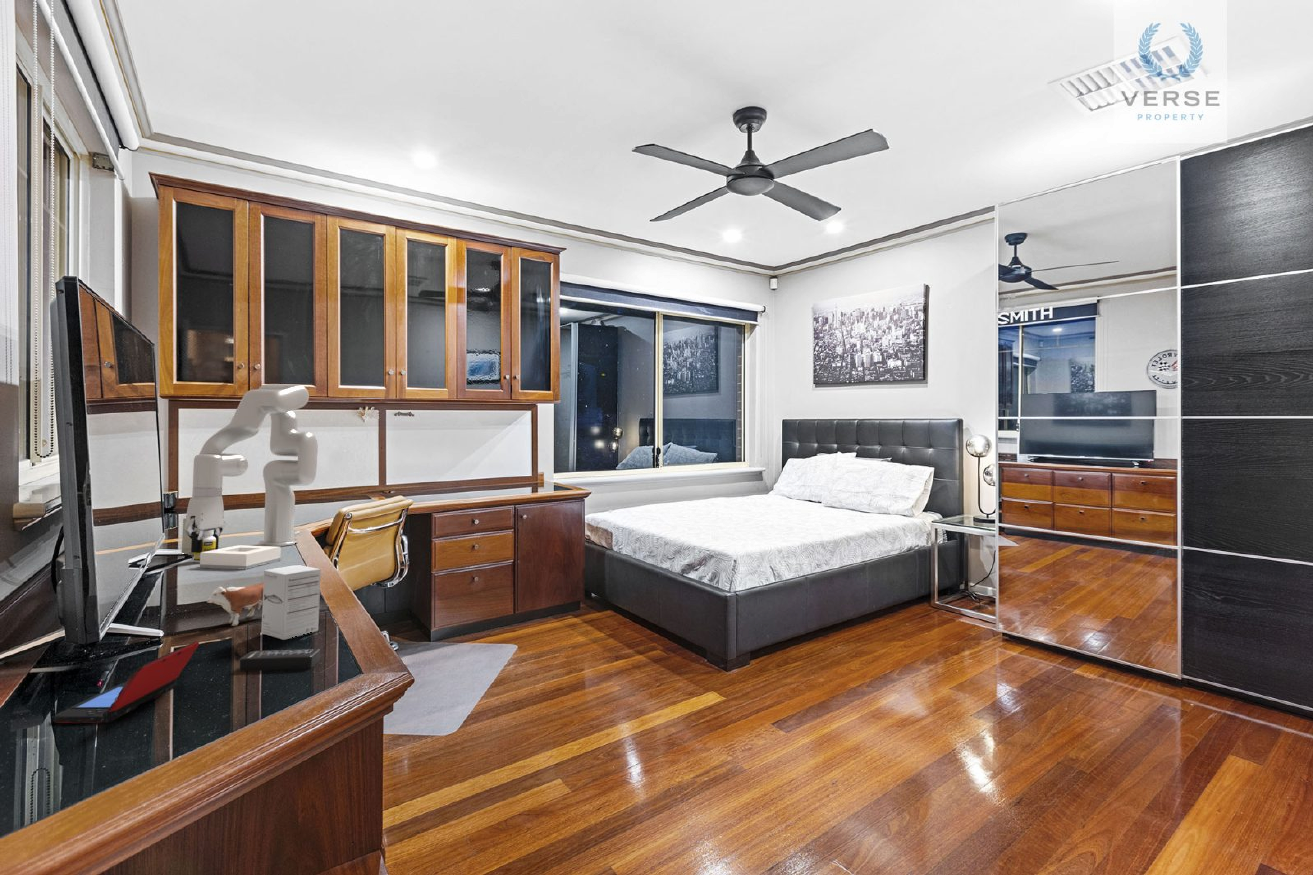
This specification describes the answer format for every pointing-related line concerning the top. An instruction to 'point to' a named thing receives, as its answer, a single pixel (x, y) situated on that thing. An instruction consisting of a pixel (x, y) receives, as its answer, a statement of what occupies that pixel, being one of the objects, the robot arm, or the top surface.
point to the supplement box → (290, 601)
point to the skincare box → (186, 541)
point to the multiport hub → (279, 659)
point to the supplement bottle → (206, 543)
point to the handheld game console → (131, 690)
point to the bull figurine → (238, 600)
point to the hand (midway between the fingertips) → (204, 550)
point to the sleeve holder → (239, 557)
